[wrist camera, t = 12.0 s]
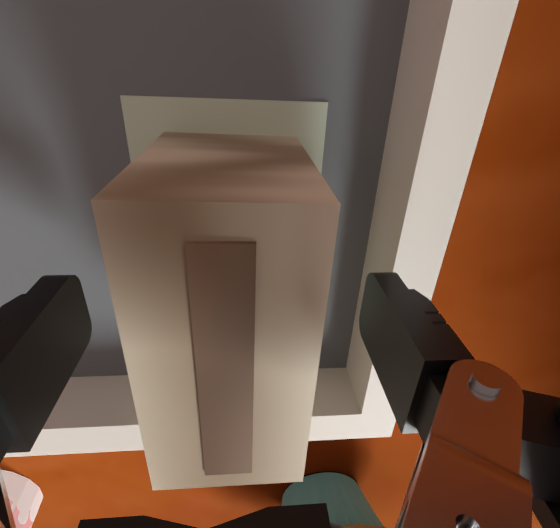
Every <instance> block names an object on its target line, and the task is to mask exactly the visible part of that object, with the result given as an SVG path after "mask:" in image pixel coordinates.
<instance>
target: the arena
mask: <svg viewBox="0 0 560 528" xmlns="http://www.w3.org/2000/svg"><path fill="white" fill-rule="evenodd" d="M518 2H519V0H0V307H1V306H2V305H4V304H6V303H7V302H9V301H11V300H12V299H14V298H16V297H17V296H19V295H21V294H26V293H27V292H28V291H29V290H30V289H31V287H32V286H33V285H34V284H35V283H36V282H37V281H38V280H39V279H40V278H41V277H42V276H44V275H76V276H77V277H78V278H79V280H80V282H81V285H82V289H83V293H84V296H85V300H86V304H87V307H88V311H89V315H90V319H91V324H92V332H91V338H90V341H89V344H88V346H87V348H86V349H85V351H84V353H83V355H82V357H81V359H80V361H79V362H78V364H77V366H76V368H75V370H74V372H73V373H72V375H71V377H70V379H69V381H68V383H67V384H66V386H65V388H64V390H63V392H62V394H61V395H60V397H59V399H58V401H57V403H56V405H55V406H54V408H53V410H52V412H51V414H50V416H49V418H48V419H47V421H46V423H45V425H44V427H43V429H42V430H41V432H40V434H39V436H38V438H37V440H36V441H35V443H34V445H33V447H32V449H31V451H30V452H18V453H6V454H5V456H4V457H20V456H38V455H57V454H76V453H95V452H113V451H132V450H144V447H143V442H142V438H141V433H140V428H139V424H138V419H137V414H136V410H135V405H134V400H133V396H132V391H131V386H130V382H129V377H128V372H127V368H126V363H125V358H124V354H123V349H122V344H121V340H120V335H119V330H118V326H117V321H116V316H115V311H114V307H113V302H112V297H111V293H110V288H109V283H108V279H107V274H106V269H105V265H104V260H103V255H102V251H101V246H100V241H99V237H98V232H97V227H96V223H95V218H94V213H93V209H92V204H91V199H92V198H93V197H94V196H95V195H97V194H98V193H99V192H100V191H101V190H102V189H103V188H104V187H105V186H106V185H107V184H108V183H109V182H111V181H112V180H113V179H114V178H115V177H116V176H117V175H118V174H119V173H120V172H121V171H122V170H123V169H125V168H126V167H127V166H128V165H129V164H130V163H131V162H132V161H133V160H134V159H135V158H136V157H137V156H139V155H140V154H141V153H142V152H143V151H144V150H145V149H146V148H147V147H148V146H149V145H150V144H151V143H153V142H154V141H155V140H156V139H157V138H158V137H159V136H160V135H161V134H162V133H163V132H179V133H208V134H236V135H265V136H293V137H297V138H298V140H299V141H300V143H301V144H302V146H303V147H304V149H305V150H306V152H307V153H308V155H309V157H310V158H311V160H312V161H313V163H314V164H315V166H316V167H317V169H318V170H319V172H320V173H321V175H322V176H323V178H324V179H325V181H326V182H327V184H328V186H329V187H330V189H331V190H332V192H333V193H334V195H335V196H336V198H337V199H338V201H339V202H340V204H341V206H340V214H339V221H338V228H337V236H336V243H335V250H334V258H333V265H332V272H331V280H330V287H329V294H328V302H327V309H326V316H325V323H324V331H323V338H322V345H321V353H320V360H319V367H318V375H317V382H316V389H315V397H314V404H313V411H312V419H311V426H310V433H309V441H319V440H338V439H357V438H376V437H391V435H392V432H393V428H394V425H395V422H396V419H395V416H394V414H393V412H392V409H391V407H390V404H389V402H388V400H387V397H386V395H385V392H384V390H383V388H382V385H381V383H380V380H379V378H378V376H377V373H376V371H375V369H374V366H373V364H372V361H371V359H370V357H369V354H368V352H367V349H366V347H365V345H364V342H363V340H362V337H361V334H360V329H359V316H360V310H361V304H362V299H363V293H364V288H365V282H366V278H367V275H368V274H369V273H374V272H395V273H397V274H398V275H399V277H400V278H401V279H402V281H403V282H404V284H405V285H406V286H407V288H408V289H415V290H416V291H418V292H419V293H421V294H422V295H424V296H425V297H427V298H428V299H429V300H430V301H431V299H432V295H433V292H434V289H435V285H436V282H437V278H438V275H439V272H440V268H441V265H442V261H443V258H444V255H445V251H446V248H447V244H448V241H449V237H450V234H451V231H452V227H453V224H454V220H455V217H456V214H457V210H458V207H459V203H460V200H461V197H462V193H463V190H464V186H465V183H466V179H467V176H468V173H469V169H470V166H471V162H472V159H473V156H474V152H475V149H476V145H477V142H478V139H479V135H480V132H481V128H482V125H483V121H484V118H485V115H486V111H487V108H488V104H489V101H490V98H491V94H492V91H493V87H494V84H495V81H496V77H497V74H498V70H499V67H500V64H501V60H502V57H503V53H504V50H505V46H506V43H507V40H508V36H509V33H510V29H511V26H512V23H513V19H514V16H515V12H516V9H517V6H518Z"/></svg>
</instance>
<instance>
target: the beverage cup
mask: <svg viewBox="0 0 560 528" xmlns="http://www.w3.org/2000/svg"><path fill="white" fill-rule="evenodd" d="M1 471H2V474H3V477H4V481H5V485H6V489H7V493H8V497H9V501H10V505H11V509H12V513H13V517H14V521H15V525H16V528H31V527H32V524H33V522H34V519H35V517H36V514H37V512H38V509H39V507H40V504H41V501H42V499H43V495H42V493H41V490H40V488H39V487H38V486H37V485H36V484H35V483H33V482H32V481H31V480H30V479H28V478H26V477H24V476H21V475H19V474H16V473H14V472H10V471H5V470H1Z"/></svg>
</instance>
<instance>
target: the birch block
mask: <svg viewBox="0 0 560 528" xmlns="http://www.w3.org/2000/svg"><path fill="white" fill-rule="evenodd" d="M91 204H92V209H93V213H94V218H95V223H96V227H97V232H98V237H99V241H100V246H101V251H102V255H103V260H104V265H105V269H106V274H107V279H108V283H109V288H110V293H111V297H112V302H113V307H114V311H115V316H116V321H117V326H118V330H119V335H120V340H121V344H122V349H123V354H124V358H125V363H126V368H127V372H128V377H129V382H130V386H131V391H132V396H133V400H134V405H135V410H136V414H137V419H138V424H139V428H140V433H141V438H142V442H143V447H144V452H145V456H146V461H147V466H148V470H149V475H150V480H151V484H152V489H153V490H168V489H185V488H203V487H220V486H237V485H254V484H272V483H289V482H303V477H304V470H305V463H306V455H307V448H308V441H309V433H310V426H311V419H312V411H313V404H314V397H315V389H316V382H317V375H318V367H319V360H320V353H321V345H322V338H323V331H324V323H325V316H326V309H327V302H328V294H329V287H330V280H331V272H332V265H333V258H334V250H335V243H336V236H337V228H338V221H339V214H340V206H341V204H340V202H339V201H338V199H337V198H336V196H335V195H334V193H333V192H332V190H331V189H330V187H329V186H328V184H327V182H326V181H325V179H324V178H323V176H322V175H321V173H320V172H319V170H318V169H317V167H316V166H315V164H314V163H313V161H312V160H311V158H310V157H309V155H308V153H307V152H306V150H305V149H304V147H303V146H302V144H301V143H300V141H299V140H298V138H297V137H293V136H265V135H236V134H208V133H179V132H163V133H162V134H161V135H160V136H159V137H158V138H157V139H156V140H155V141H154V142H153V143H151V144H150V145H149V146H148V147H147V148H146V149H145V150H144V151H143V152H142V153H141V154H140V155H139V156H137V157H136V158H135V159H134V160H133V161H132V162H131V163H130V164H129V165H128V166H127V167H126V168H125V169H123V170H122V171H121V172H120V173H119V174H118V175H117V176H116V177H115V178H114V179H113V180H112V181H111V182H109V183H108V184H107V185H106V186H105V187H104V188H103V189H102V190H101V191H100V192H99V193H98V194H97V195H95V196H94V197H93V198H92V199H91Z"/></svg>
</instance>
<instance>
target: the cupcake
mask: <svg viewBox="0 0 560 528" xmlns="http://www.w3.org/2000/svg"><path fill="white" fill-rule="evenodd" d="M317 503H326V504H327V509H328V515H329V520H330V522H331V523H335V524H339V525H342V526H344V527H347V528H385V527H384V526H383V525H382V523H381V522H380V521H379V519H378V518H377V516H376V514H375V513H374V511H373V510H372V508H371V506H370V505H369V503H368V501H367V500H366V498H365V496H364V494H363V493H362V491H361V489H360V487H359V486H358V484H357V483H356V482H355V480H353V479H352V478H350V477H349V476H346V475H344V474H340V473H333V472H324V473H316V474H312V475H308V476H305V477H303V482H294V483H292V484H291V485H290V486H289V487H288V488H287V489H286V490H285V492H284V494H283V497H282V503H281V506H288V505H303V504H317Z"/></svg>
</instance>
